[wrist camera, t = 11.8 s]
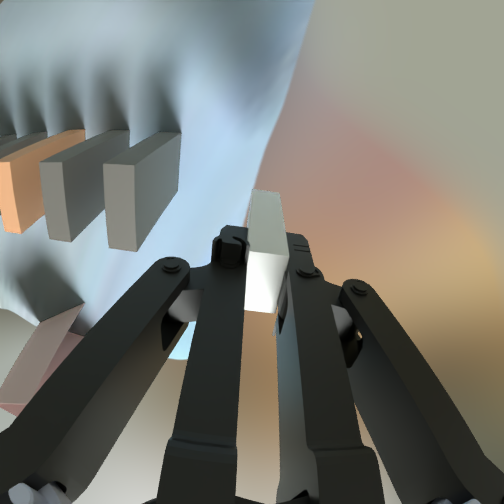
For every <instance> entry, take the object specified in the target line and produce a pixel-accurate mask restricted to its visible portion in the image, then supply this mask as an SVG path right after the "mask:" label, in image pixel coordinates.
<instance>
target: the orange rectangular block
mask: <svg viewBox="0 0 504 504" xmlns="http://www.w3.org/2000/svg"><path fill="white" fill-rule="evenodd" d="M83 141H85V129H79V130H67V131H65V132H62V133H59V134H57V135H54V136H51V137H49V138H46V139H44V140H41V141H39V142H37V143H34V144H32V145H30V146H27V147H25V148H23V149H20V150H18V151H16V152H14V153H12V154H10V155H8V156H5V157H3V158H1V159H0V210H1V215H2V220H3V225H4V229H5V231H6V232H12V233H19V234H22V233H23V232H24V231H25V230H26V229H28V228H29V227H30V226H31V225H32V224H33V223H35V222H36V221H37V220H38V219H39V218H41V217H42V216H43V215H44V214H45V211H44V204H43V197H42V189H41V180H40V169H39V162H41V161H42V160H44V159H46V158H48V157H50V156H52V155H55V154H57V153H59V152H61V151H63V150H65V149H67V148H69V147H72V146H74V145H76V144H78V143H81V142H83Z"/></svg>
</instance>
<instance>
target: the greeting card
mask: <svg viewBox="0 0 504 504" xmlns="http://www.w3.org/2000/svg"><path fill="white" fill-rule="evenodd" d="M84 304H85V303H83V304H81V305H79V306H76V307H74V308H72V309H69V310H67V311H65V312H63V313H60V314H58V315H56V316H54V317H51V318H49V319H47V320H45V321H42V322H40V323H39V325H38V326H37V328H36V329H35V331H34V332H33V334H32V336H31V337H30V339H29V340H28V342H27V343H26V345H25V347H24V348H23V350H22V351H21V353H20V355H19V356H18V358H17V360H16V361H15V363H14V365H13V367H12V368H11V370H10V372H9V374H8V375H7V377H6V379H5V381H4V382H3V384H2V386H1V388H0V408H2V409H4V410H6V411H8V412H9V413H11V414H13V415H15V416H18V415H19V414H20V413H21V411H22V410H23V409H24V408H25V406H26V405H27V404H28V402H29V401H30V400H31V399H32V397H33V396H34V395H35V394H36V393H37V391H38V390H39V389H40V388H41V386H42V385H43V384H44V383H45V382H46V380H47V379H48V378H49V377H50V376H51V374H52V373H53V372H54V371H55V370H56V369H57V367H58V366H59V365H60V364H61V363H62V362H63V360H64V359H65V358H66V357H67V356H68V355H69V354H70V352H71V351H72V350H73V349H74V348H75V347H76V346H77V344H78V343H79V342H80V341H81V340H82V339H83V338H84V337H85V336H81V335H78V334H74V333H71V332H68V330H69V329H70V327H71V325H72V324H73V322H74V320H75V319H76V317H77V315H78V314H79V312H80V310H81V309H82V307H83V306H84Z"/></svg>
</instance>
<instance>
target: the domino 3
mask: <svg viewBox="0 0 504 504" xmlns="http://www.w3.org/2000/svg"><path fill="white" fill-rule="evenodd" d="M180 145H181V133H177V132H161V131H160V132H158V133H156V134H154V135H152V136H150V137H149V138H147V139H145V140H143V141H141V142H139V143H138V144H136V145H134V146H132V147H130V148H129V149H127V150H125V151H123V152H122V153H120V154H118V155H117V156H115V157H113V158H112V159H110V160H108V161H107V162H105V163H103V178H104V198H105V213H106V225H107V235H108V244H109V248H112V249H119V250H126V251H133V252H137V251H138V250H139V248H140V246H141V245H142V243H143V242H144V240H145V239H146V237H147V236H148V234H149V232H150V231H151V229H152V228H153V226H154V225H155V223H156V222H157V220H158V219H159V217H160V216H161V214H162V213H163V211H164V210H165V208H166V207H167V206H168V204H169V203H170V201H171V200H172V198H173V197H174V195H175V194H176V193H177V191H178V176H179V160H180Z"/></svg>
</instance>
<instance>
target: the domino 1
mask: <svg viewBox="0 0 504 504" xmlns="http://www.w3.org/2000/svg"><path fill="white" fill-rule="evenodd" d="M16 139H17V137H16V134H12V135H5V136H2V137H0V146H1V145H4V144H6V143H9V142H11V141H13V140H16Z"/></svg>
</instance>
